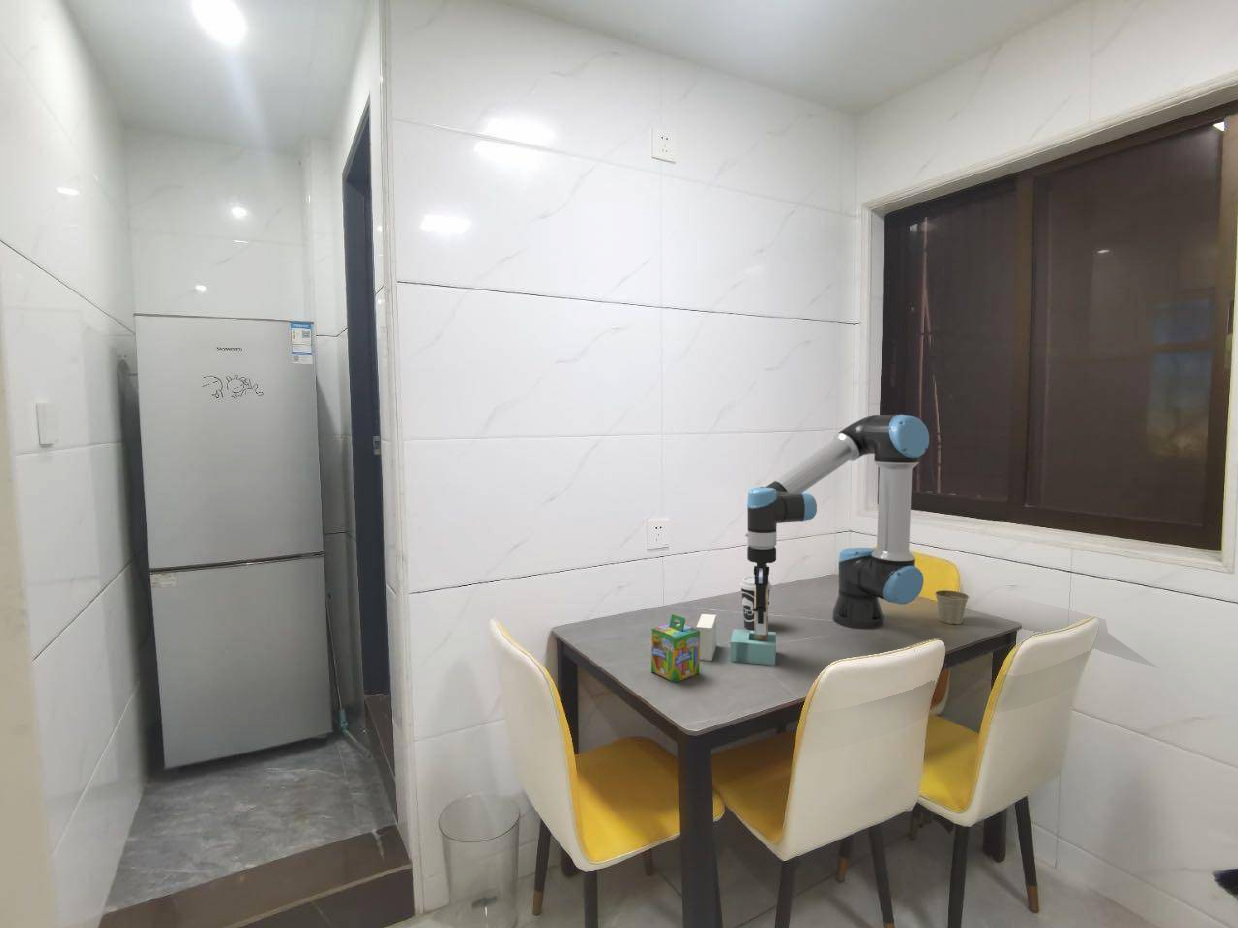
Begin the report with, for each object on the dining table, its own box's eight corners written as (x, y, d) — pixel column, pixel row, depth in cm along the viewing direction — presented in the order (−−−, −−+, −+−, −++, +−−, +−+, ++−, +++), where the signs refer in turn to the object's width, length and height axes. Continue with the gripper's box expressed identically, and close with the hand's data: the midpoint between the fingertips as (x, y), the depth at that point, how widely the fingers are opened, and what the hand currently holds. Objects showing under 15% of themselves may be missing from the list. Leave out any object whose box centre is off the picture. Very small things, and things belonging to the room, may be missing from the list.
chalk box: (650, 671, 157) (649, 616, 155) (676, 662, 162) (675, 608, 161) (675, 684, 149) (674, 625, 148) (701, 673, 155) (701, 617, 154)
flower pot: (970, 619, 191) (971, 593, 190) (966, 628, 183) (967, 600, 183) (937, 614, 197) (937, 588, 196) (931, 622, 189) (932, 595, 188)
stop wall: (716, 645, 173) (716, 614, 173) (711, 660, 163) (711, 628, 162) (702, 644, 175) (701, 613, 174) (696, 659, 164) (696, 626, 163)
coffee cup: (771, 633, 182) (772, 584, 181) (739, 631, 184) (739, 583, 183) (770, 622, 191) (770, 576, 190) (739, 621, 193) (739, 574, 192)
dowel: (768, 638, 166) (768, 584, 164) (767, 643, 162) (768, 588, 161) (754, 637, 166) (754, 584, 165) (753, 642, 163) (754, 587, 162)
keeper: (775, 651, 168) (775, 632, 168) (775, 665, 159) (775, 645, 159) (733, 648, 171) (733, 629, 171) (730, 661, 162) (730, 641, 162)
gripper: (749, 539, 171) (748, 620, 173) (745, 552, 155) (745, 641, 157) (776, 540, 169) (775, 622, 171) (775, 553, 153) (774, 644, 155)
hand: (761, 631), depth 164 cm, fingers closed on dowel, 3 cm apart
